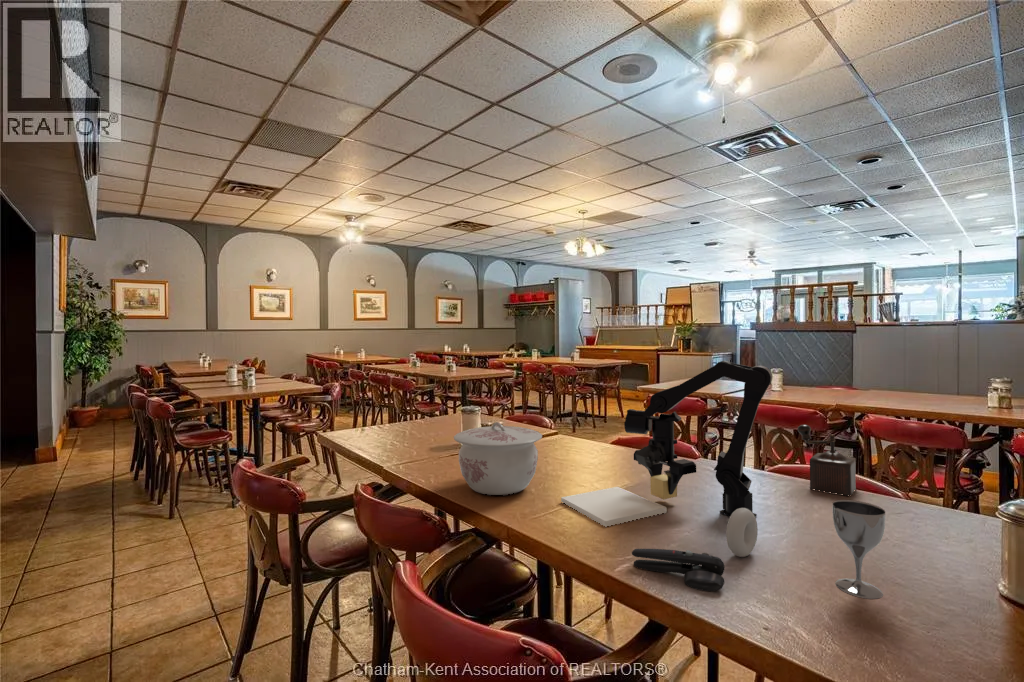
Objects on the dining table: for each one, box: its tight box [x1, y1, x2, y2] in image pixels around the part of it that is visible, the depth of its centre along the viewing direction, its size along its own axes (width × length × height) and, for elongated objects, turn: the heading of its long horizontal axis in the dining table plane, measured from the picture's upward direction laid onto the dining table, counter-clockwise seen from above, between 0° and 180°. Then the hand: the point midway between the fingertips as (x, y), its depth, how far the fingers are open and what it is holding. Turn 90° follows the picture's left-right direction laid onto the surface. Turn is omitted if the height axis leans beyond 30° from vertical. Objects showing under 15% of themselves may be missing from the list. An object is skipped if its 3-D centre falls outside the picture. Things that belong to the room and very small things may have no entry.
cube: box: [650, 473, 678, 500], centre depth 135 cm, size 5×5×5 cm
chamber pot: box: [453, 421, 543, 496], centre depth 150 cm, size 28×28×21 cm
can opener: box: [631, 548, 726, 592], centre depth 94 cm, size 18×7×6 cm, turn 56°
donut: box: [725, 508, 759, 558], centre depth 103 cm, size 10×4×10 cm, turn 131°
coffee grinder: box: [797, 424, 857, 497], centre depth 147 cm, size 16×11×18 cm
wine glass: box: [831, 499, 886, 600], centre depth 89 cm, size 8×8×15 cm
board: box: [560, 486, 667, 528], centre depth 132 cm, size 20×20×2 cm
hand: (663, 491), depth 135 cm, fingers closed on cube, 5 cm apart
